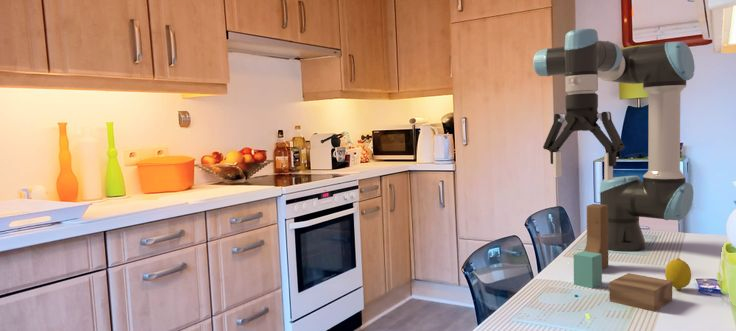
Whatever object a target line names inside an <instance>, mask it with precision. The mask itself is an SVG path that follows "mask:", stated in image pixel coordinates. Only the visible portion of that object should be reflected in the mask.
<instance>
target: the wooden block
mask: <svg viewBox="0 0 736 331" xmlns="http://www.w3.org/2000/svg"><path fill="white" fill-rule="evenodd" d="M583 251H587V252H593V253H599V254H602V270H604V269H606V268H608V267H609V249H608V205H602V204H600V203H592V204H589V205H586V245H585V247H584V250H583Z"/></svg>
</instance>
